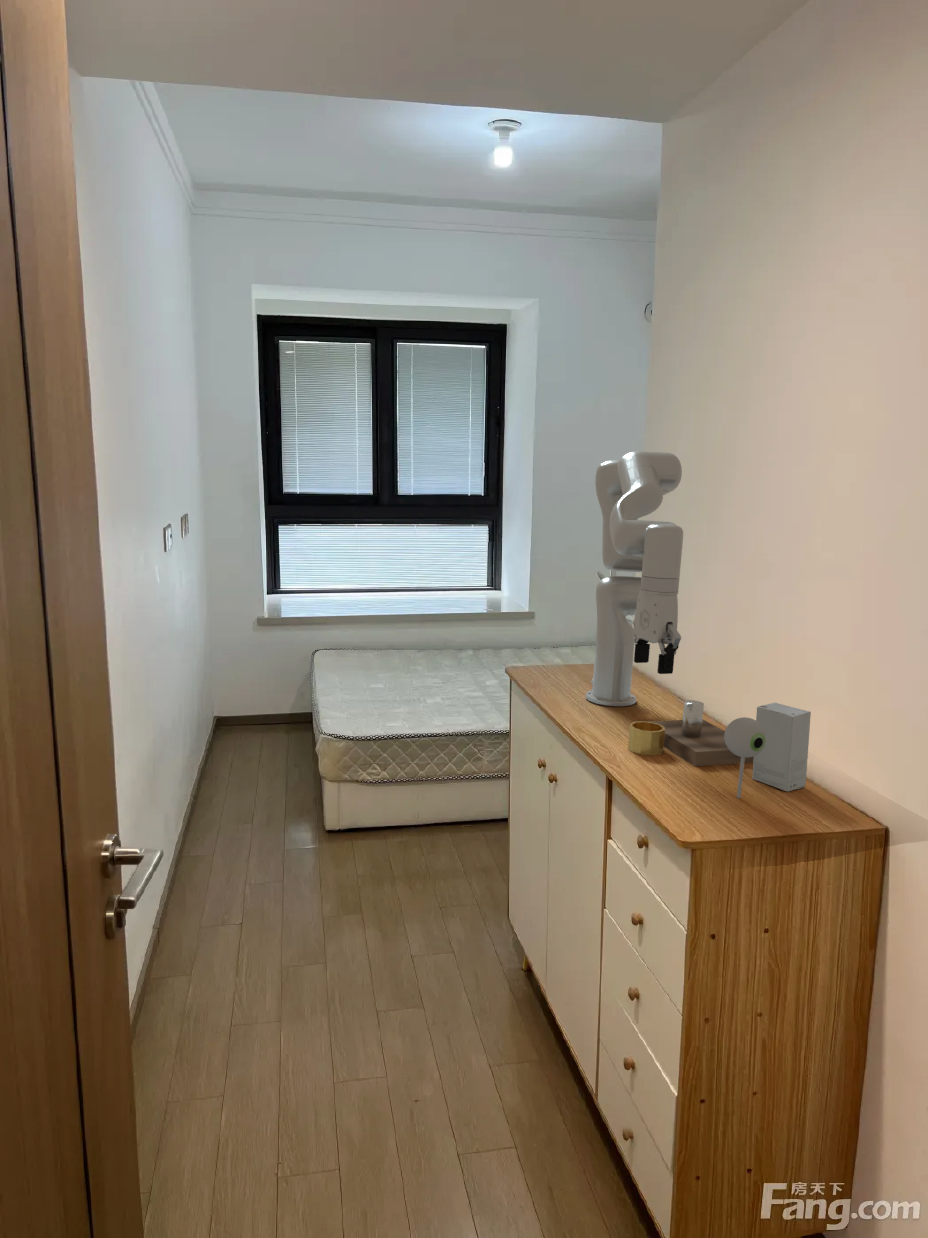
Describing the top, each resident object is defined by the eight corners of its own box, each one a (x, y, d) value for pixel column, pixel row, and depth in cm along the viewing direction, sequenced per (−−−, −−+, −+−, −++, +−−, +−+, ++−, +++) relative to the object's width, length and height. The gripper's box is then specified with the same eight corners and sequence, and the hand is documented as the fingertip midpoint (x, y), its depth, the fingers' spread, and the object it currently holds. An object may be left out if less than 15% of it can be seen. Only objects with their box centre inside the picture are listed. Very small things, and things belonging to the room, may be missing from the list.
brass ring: (621, 744, 179) (623, 722, 178) (652, 743, 181) (653, 720, 180) (638, 756, 172) (640, 733, 171) (669, 754, 174) (671, 731, 173)
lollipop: (736, 807, 147) (745, 725, 145) (709, 792, 154) (717, 714, 151) (767, 802, 150) (777, 722, 148) (740, 788, 157) (748, 711, 154)
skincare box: (805, 787, 158) (815, 712, 156) (785, 793, 155) (795, 716, 152) (768, 773, 165) (776, 700, 163) (748, 778, 162) (756, 704, 159)
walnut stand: (645, 734, 186) (646, 721, 186) (700, 731, 190) (701, 718, 190) (694, 766, 167) (696, 752, 167) (754, 762, 171) (756, 748, 171)
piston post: (677, 732, 179) (680, 700, 178) (694, 731, 180) (697, 700, 179) (687, 738, 175) (690, 706, 174) (704, 737, 176) (707, 705, 175)
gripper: (623, 579, 177) (616, 659, 180) (665, 591, 161) (657, 678, 164) (654, 579, 179) (648, 658, 182) (699, 591, 163) (691, 677, 166)
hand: (652, 667), depth 173 cm, fingers open, 9 cm apart
